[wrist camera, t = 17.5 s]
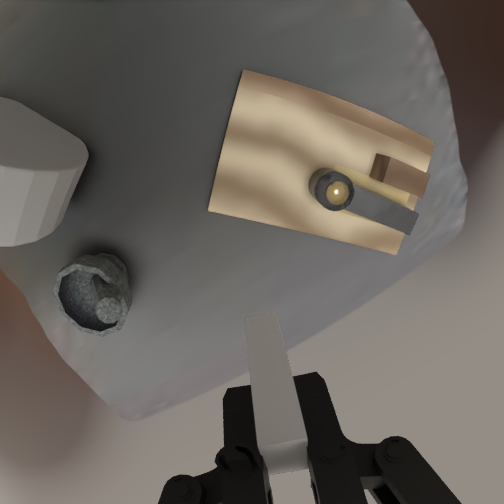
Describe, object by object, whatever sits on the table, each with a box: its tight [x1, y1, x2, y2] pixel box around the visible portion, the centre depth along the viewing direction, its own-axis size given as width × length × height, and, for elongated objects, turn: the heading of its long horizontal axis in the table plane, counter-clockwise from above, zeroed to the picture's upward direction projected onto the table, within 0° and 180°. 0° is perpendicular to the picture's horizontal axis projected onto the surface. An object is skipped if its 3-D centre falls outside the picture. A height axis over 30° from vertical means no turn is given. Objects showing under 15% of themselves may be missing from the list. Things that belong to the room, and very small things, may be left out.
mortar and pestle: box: [53, 253, 132, 336], centre depth 31 cm, size 11×9×12 cm
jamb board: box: [208, 69, 435, 255], centre depth 31 cm, size 16×25×5 cm, turn 76°
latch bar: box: [309, 168, 419, 235], centre depth 32 cm, size 13×4×4 cm, turn 72°
